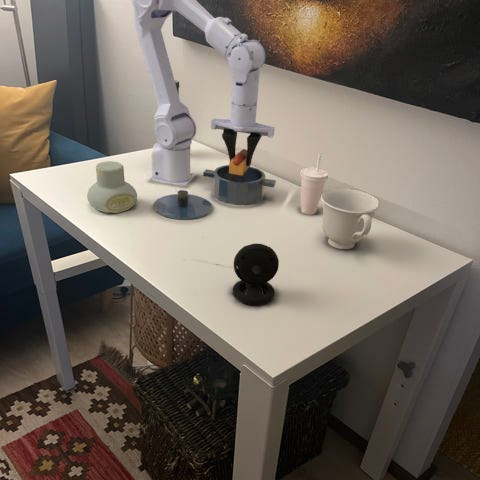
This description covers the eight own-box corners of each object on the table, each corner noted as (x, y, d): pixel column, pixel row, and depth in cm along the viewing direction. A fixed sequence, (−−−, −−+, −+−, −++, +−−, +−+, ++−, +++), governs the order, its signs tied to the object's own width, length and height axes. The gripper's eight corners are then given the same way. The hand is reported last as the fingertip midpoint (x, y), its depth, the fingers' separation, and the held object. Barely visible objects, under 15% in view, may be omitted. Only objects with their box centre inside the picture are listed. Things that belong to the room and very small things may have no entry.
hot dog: (242, 176, 116) (243, 159, 114) (228, 174, 117) (229, 157, 114) (251, 164, 123) (252, 149, 120) (237, 162, 123) (238, 147, 121)
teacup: (332, 266, 99) (342, 220, 94) (305, 232, 111) (311, 189, 105) (386, 261, 103) (398, 216, 97) (354, 228, 114) (363, 186, 108)
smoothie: (323, 217, 118) (333, 158, 109) (296, 216, 118) (304, 156, 109) (320, 206, 123) (329, 149, 115) (294, 204, 123) (302, 147, 114)
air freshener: (98, 220, 109) (93, 175, 103) (83, 206, 114) (77, 163, 108) (143, 210, 115) (141, 167, 109) (127, 197, 120) (124, 156, 114)
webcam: (272, 283, 93) (278, 235, 87) (276, 306, 87) (283, 256, 81) (231, 282, 92) (234, 233, 86) (232, 305, 86) (235, 254, 80)
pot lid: (201, 226, 110) (201, 208, 107) (144, 216, 112) (143, 198, 110) (218, 203, 120) (219, 186, 118) (166, 194, 123) (166, 177, 120)
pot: (267, 212, 118) (270, 188, 114) (196, 200, 121) (196, 176, 117) (277, 193, 128) (280, 170, 124) (211, 182, 131) (212, 160, 127)
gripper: (207, 102, 109) (206, 164, 117) (272, 111, 106) (266, 173, 115) (217, 96, 115) (215, 155, 123) (278, 104, 112) (272, 164, 120)
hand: (240, 163), depth 119 cm, fingers closed on hot dog, 3 cm apart
